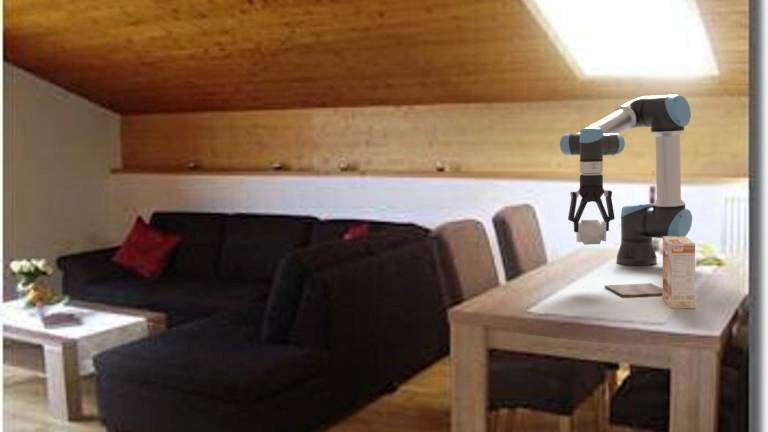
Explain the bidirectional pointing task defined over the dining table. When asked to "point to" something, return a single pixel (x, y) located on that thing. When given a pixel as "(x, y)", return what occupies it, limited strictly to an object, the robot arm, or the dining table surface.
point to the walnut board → (635, 290)
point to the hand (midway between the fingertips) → (591, 241)
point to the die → (591, 232)
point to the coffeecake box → (678, 272)
